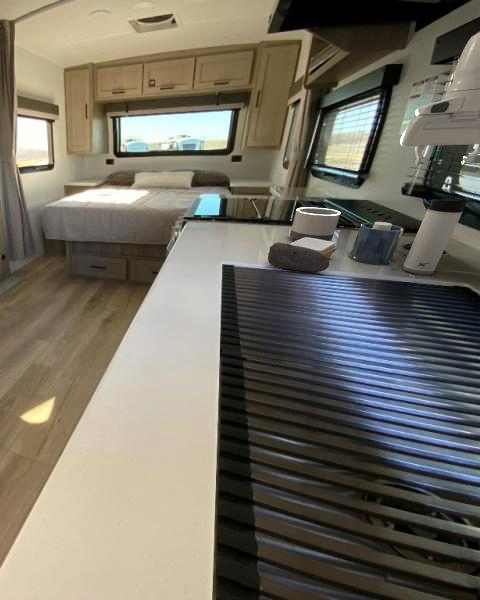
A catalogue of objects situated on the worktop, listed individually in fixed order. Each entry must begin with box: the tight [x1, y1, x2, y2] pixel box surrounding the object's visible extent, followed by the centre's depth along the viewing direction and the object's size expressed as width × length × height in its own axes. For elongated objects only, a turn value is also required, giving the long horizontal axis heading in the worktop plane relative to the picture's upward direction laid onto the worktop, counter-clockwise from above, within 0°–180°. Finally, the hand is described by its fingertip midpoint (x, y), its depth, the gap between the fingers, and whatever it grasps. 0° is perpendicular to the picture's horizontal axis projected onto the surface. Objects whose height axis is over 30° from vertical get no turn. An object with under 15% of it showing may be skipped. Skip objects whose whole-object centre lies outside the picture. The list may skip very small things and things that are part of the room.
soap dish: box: [289, 237, 339, 259], centre depth 102 cm, size 12×10×5 cm
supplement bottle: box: [372, 221, 393, 231], centre depth 98 cm, size 6×6×10 cm
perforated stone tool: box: [267, 242, 331, 273], centre depth 93 cm, size 15×5×7 cm, turn 52°
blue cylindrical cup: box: [349, 222, 405, 266], centre depth 99 cm, size 10×10×10 cm
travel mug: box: [401, 198, 471, 276], centre depth 87 cm, size 6×7×20 cm
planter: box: [289, 207, 341, 242], centre depth 117 cm, size 13×13×10 cm
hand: (442, 163), depth 89 cm, fingers open, 8 cm apart
